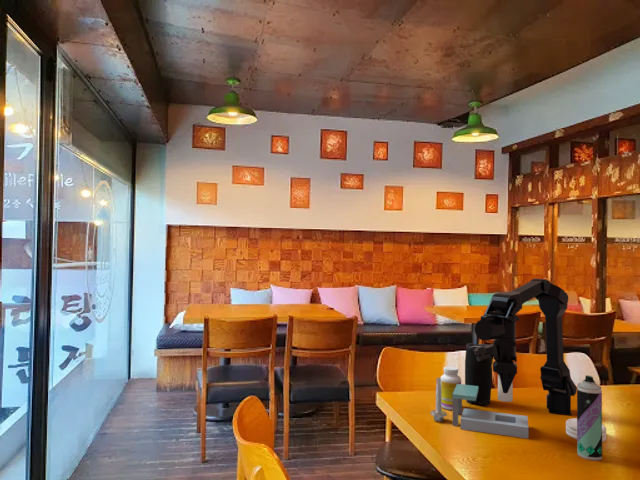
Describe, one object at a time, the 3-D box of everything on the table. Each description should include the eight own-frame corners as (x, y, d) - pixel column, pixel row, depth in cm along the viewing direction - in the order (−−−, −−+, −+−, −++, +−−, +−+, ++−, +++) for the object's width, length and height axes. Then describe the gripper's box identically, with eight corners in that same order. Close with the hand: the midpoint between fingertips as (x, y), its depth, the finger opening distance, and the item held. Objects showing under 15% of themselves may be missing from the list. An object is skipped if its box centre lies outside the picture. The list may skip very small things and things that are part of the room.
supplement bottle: (462, 411, 153) (462, 371, 154) (441, 409, 155) (441, 370, 155) (460, 404, 160) (460, 366, 160) (440, 403, 161) (440, 365, 161)
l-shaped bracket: (478, 415, 149) (478, 386, 149) (475, 428, 138) (475, 396, 138) (457, 412, 152) (457, 383, 152) (452, 425, 141) (452, 394, 141)
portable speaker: (490, 399, 166) (490, 343, 166) (492, 408, 157) (492, 348, 157) (464, 397, 168) (464, 341, 169) (464, 405, 159) (465, 346, 160)
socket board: (527, 426, 140) (527, 416, 140) (528, 438, 131) (528, 427, 131) (463, 418, 147) (463, 408, 147) (460, 429, 138) (460, 418, 138)
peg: (512, 398, 139) (512, 367, 139) (512, 402, 136) (512, 370, 136) (498, 396, 141) (498, 366, 141) (497, 400, 137) (497, 369, 137)
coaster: (601, 432, 137) (601, 420, 137) (610, 445, 127) (610, 432, 127) (563, 428, 140) (563, 415, 140) (568, 440, 131) (568, 427, 131)
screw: (432, 416, 148) (447, 418, 146) (428, 421, 144) (445, 423, 142) (432, 374, 149) (448, 376, 147) (428, 378, 144) (445, 380, 142)
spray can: (572, 451, 123) (572, 373, 123) (592, 451, 123) (592, 373, 124) (586, 460, 117) (585, 379, 118) (607, 460, 118) (606, 378, 118)
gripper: (478, 330, 150) (478, 380, 150) (473, 340, 133) (473, 396, 133) (516, 332, 146) (516, 383, 146) (516, 343, 129) (517, 401, 128)
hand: (505, 391), depth 138 cm, fingers closed on peg, 4 cm apart
